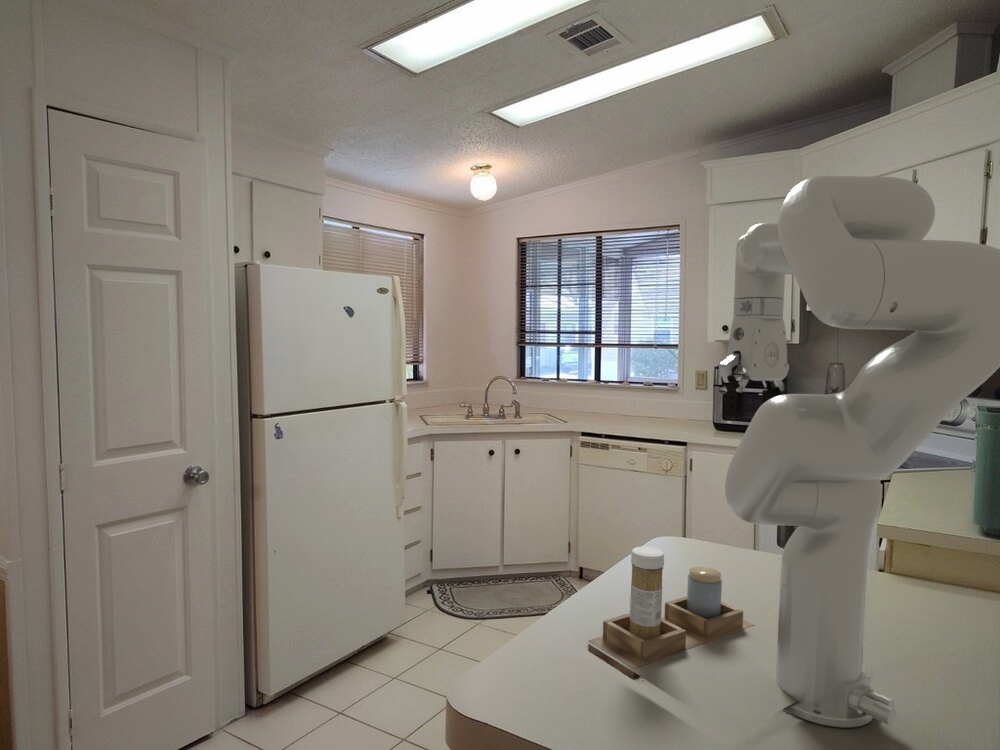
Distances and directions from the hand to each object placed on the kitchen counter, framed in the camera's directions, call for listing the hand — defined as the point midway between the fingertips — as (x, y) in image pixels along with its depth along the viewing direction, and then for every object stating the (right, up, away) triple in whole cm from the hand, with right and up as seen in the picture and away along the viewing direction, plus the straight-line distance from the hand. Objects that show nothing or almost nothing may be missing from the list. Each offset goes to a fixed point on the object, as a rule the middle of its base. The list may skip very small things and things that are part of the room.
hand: (753, 415), depth 100 cm
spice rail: (-16, -33, -9) cm, 38 cm away
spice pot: (-10, -32, -5) cm, 34 cm away
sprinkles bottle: (-21, -32, -12) cm, 40 cm away
